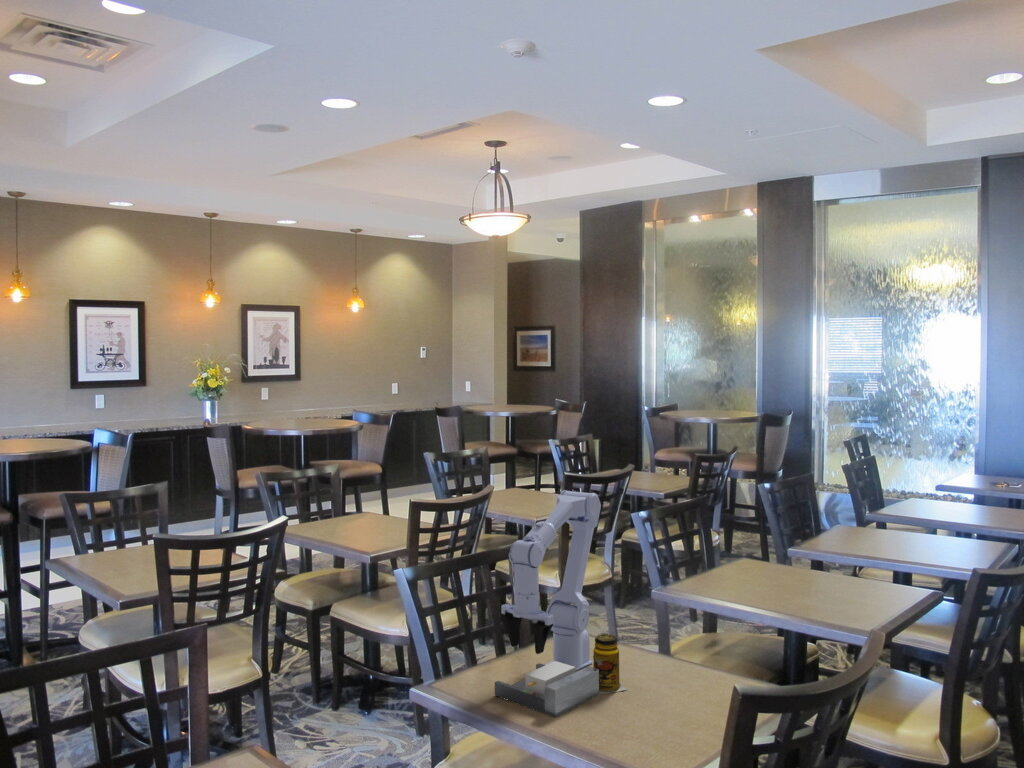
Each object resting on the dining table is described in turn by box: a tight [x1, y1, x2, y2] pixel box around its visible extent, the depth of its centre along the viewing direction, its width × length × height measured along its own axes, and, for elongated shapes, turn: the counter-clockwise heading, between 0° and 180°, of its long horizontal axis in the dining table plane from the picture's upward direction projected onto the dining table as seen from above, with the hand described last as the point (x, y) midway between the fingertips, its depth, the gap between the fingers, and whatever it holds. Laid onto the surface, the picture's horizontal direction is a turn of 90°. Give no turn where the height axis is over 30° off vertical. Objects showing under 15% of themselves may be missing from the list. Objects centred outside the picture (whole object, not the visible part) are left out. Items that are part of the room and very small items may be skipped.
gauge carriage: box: [524, 661, 577, 696], centre depth 190 cm, size 14×6×5 cm, turn 138°
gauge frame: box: [494, 663, 600, 718], centre depth 192 cm, size 16×18×6 cm
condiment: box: [592, 633, 628, 695], centre depth 198 cm, size 7×8×12 cm
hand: (527, 649), depth 196 cm, fingers open, 7 cm apart
